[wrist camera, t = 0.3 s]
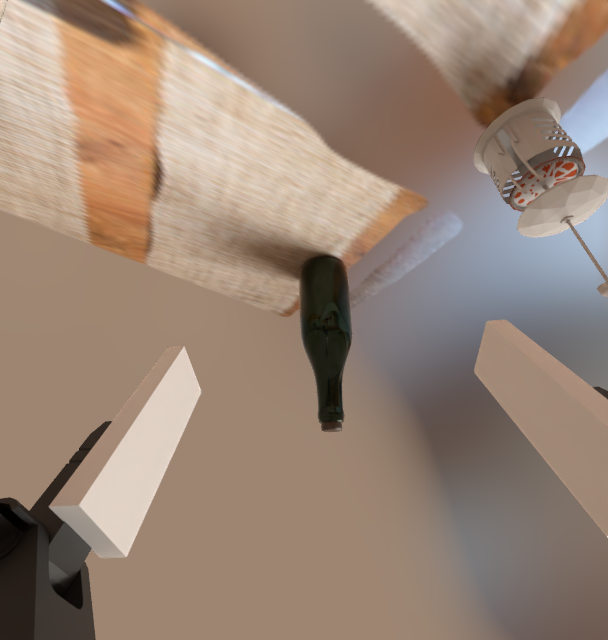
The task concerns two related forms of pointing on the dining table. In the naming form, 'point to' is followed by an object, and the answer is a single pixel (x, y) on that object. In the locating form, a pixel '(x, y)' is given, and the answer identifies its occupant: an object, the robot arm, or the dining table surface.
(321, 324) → the dark green wine bottle
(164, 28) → the dining table surface
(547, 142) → the french press
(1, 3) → the parts tray
